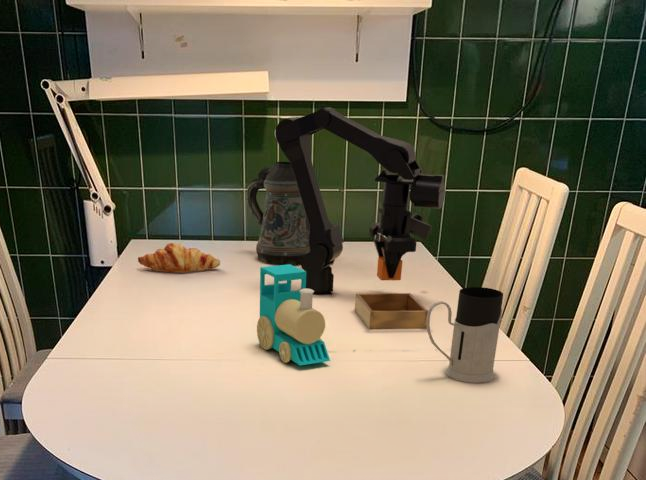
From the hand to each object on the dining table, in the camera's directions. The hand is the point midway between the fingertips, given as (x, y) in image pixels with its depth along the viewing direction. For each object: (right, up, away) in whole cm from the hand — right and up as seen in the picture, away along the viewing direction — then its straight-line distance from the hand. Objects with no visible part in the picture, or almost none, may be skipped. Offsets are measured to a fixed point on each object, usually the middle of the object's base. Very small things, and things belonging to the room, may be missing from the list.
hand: (388, 275), depth 188 cm
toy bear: (0, -1, 0) cm, 1 cm away
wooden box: (-1, -13, -10) cm, 16 cm away
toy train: (-22, -23, -31) cm, 45 cm away
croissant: (-51, +8, +26) cm, 58 cm away
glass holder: (+7, -28, -39) cm, 48 cm away
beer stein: (-25, +14, +40) cm, 49 cm away
